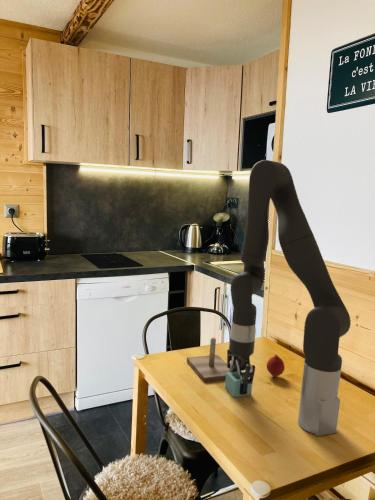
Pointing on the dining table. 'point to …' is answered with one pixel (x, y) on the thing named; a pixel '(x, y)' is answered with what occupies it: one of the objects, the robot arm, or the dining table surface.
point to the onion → (275, 366)
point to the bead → (235, 384)
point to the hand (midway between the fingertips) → (238, 388)
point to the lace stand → (209, 365)
